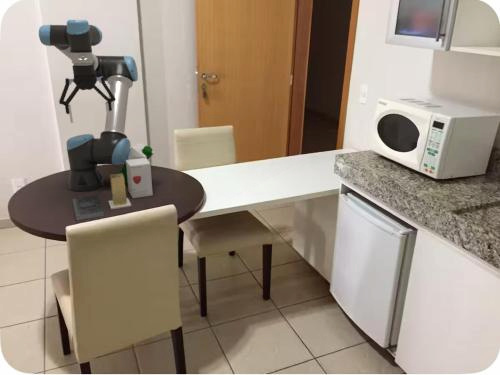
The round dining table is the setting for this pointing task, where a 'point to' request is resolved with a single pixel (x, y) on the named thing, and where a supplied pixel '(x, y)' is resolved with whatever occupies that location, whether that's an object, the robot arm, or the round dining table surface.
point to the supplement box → (139, 177)
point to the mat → (119, 205)
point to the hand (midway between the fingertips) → (90, 120)
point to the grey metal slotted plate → (87, 212)
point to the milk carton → (137, 156)
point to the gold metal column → (118, 189)
